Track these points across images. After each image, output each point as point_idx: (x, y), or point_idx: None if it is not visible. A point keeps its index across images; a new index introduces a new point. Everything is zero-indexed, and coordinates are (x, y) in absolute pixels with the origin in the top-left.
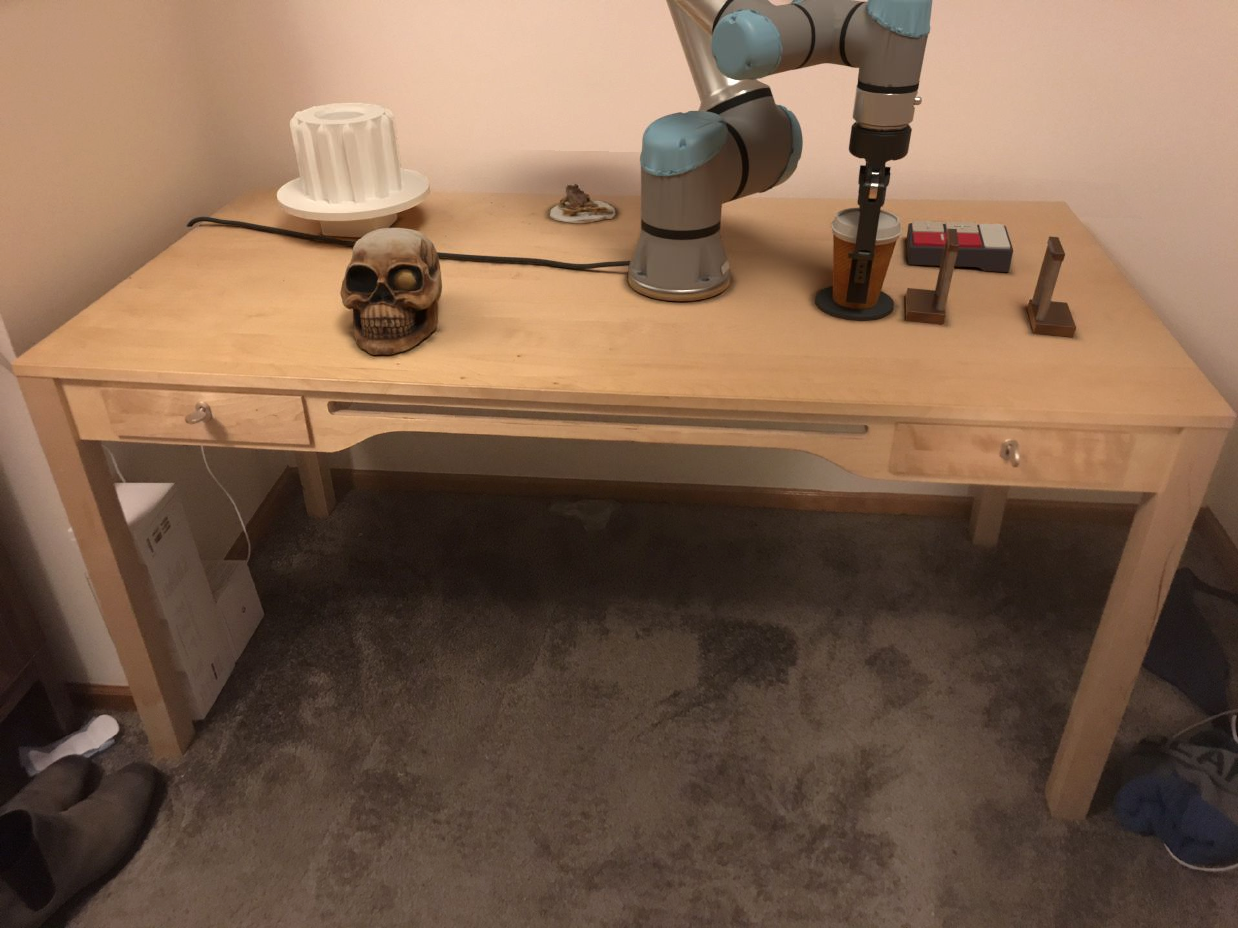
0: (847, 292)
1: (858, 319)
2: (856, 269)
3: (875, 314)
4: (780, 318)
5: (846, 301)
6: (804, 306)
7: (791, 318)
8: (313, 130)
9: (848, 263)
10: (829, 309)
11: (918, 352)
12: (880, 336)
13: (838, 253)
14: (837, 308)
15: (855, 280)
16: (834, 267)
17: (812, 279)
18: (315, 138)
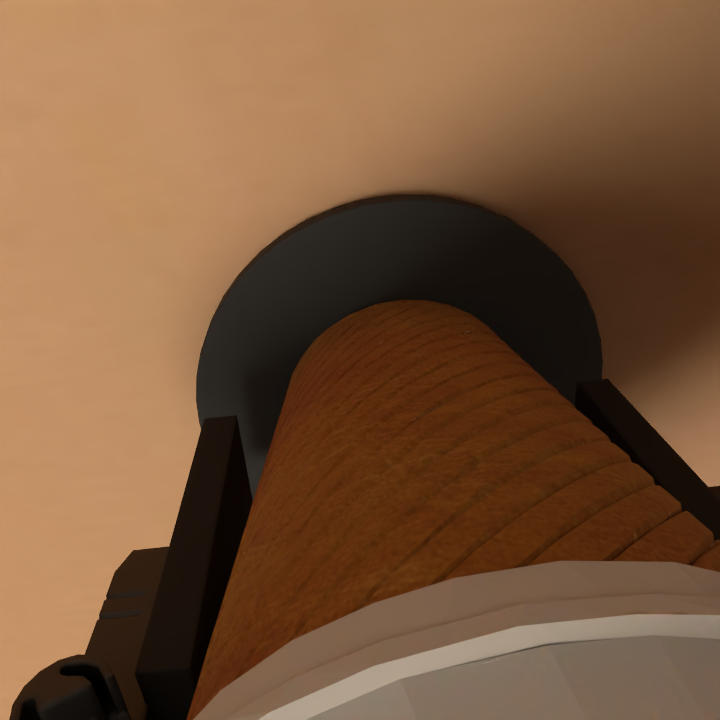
0: (194, 456)
1: None
2: (89, 644)
3: None
4: (30, 9)
5: (206, 422)
6: (283, 144)
7: (69, 89)
8: None
9: (233, 566)
10: (234, 305)
11: (24, 651)
12: (91, 531)
13: (291, 523)
14: (263, 343)
15: (125, 570)
16: (355, 401)
17: (706, 128)
18: None
